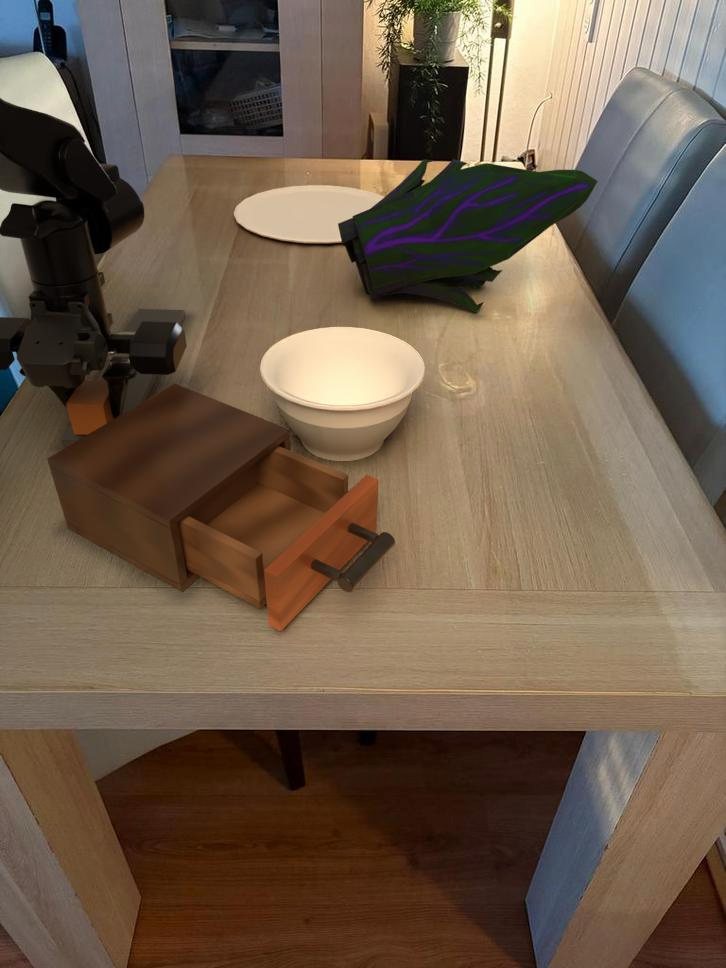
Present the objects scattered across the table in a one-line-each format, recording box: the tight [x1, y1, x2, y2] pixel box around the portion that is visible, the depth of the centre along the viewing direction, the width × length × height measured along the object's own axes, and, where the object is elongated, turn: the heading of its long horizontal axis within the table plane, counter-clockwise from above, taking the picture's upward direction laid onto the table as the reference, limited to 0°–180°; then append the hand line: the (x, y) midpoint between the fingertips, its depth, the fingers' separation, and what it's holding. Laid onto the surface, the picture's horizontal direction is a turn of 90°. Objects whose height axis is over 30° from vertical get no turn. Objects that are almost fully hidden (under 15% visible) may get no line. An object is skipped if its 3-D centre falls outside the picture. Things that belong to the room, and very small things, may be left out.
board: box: [61, 308, 186, 448], centre depth 86 cm, size 30×6×1 cm, turn 179°
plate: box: [233, 184, 385, 245], centre depth 129 cm, size 29×29×1 cm
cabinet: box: [46, 383, 292, 593], centre depth 65 cm, size 14×15×8 cm
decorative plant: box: [338, 158, 598, 314], centre depth 99 cm, size 21×26×30 cm
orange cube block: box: [66, 379, 114, 435], centre depth 74 cm, size 5×4×4 cm
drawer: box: [178, 446, 396, 632], centre depth 60 cm, size 16×13×6 cm
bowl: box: [259, 326, 426, 462], centre depth 74 cm, size 16×16×8 cm
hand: (99, 420), depth 76 cm, fingers closed on orange cube block, 3 cm apart
